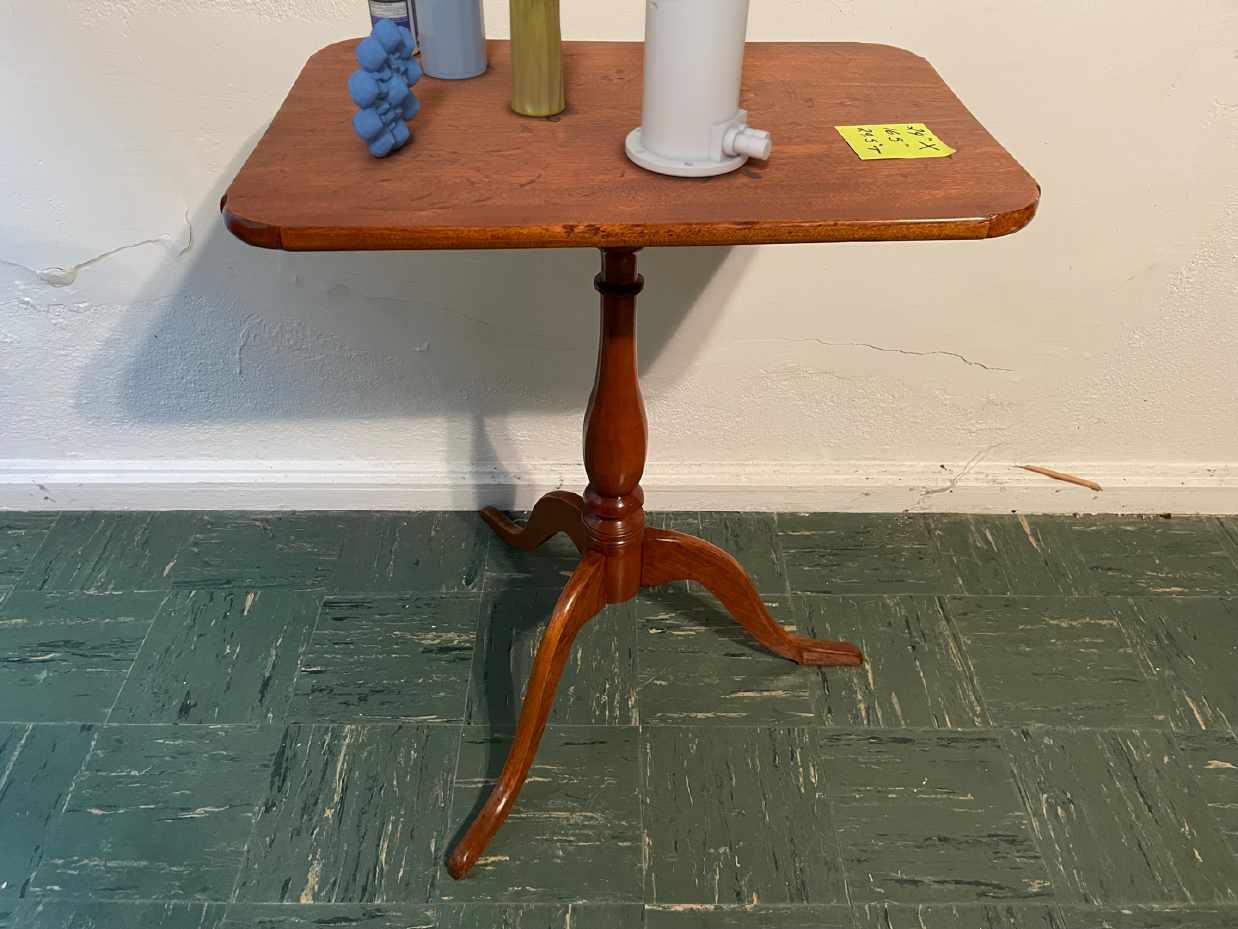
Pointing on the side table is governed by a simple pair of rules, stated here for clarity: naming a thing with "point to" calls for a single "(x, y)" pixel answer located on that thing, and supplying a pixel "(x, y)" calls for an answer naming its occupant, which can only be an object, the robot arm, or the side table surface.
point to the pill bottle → (396, 15)
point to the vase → (536, 58)
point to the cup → (452, 38)
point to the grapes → (385, 87)
